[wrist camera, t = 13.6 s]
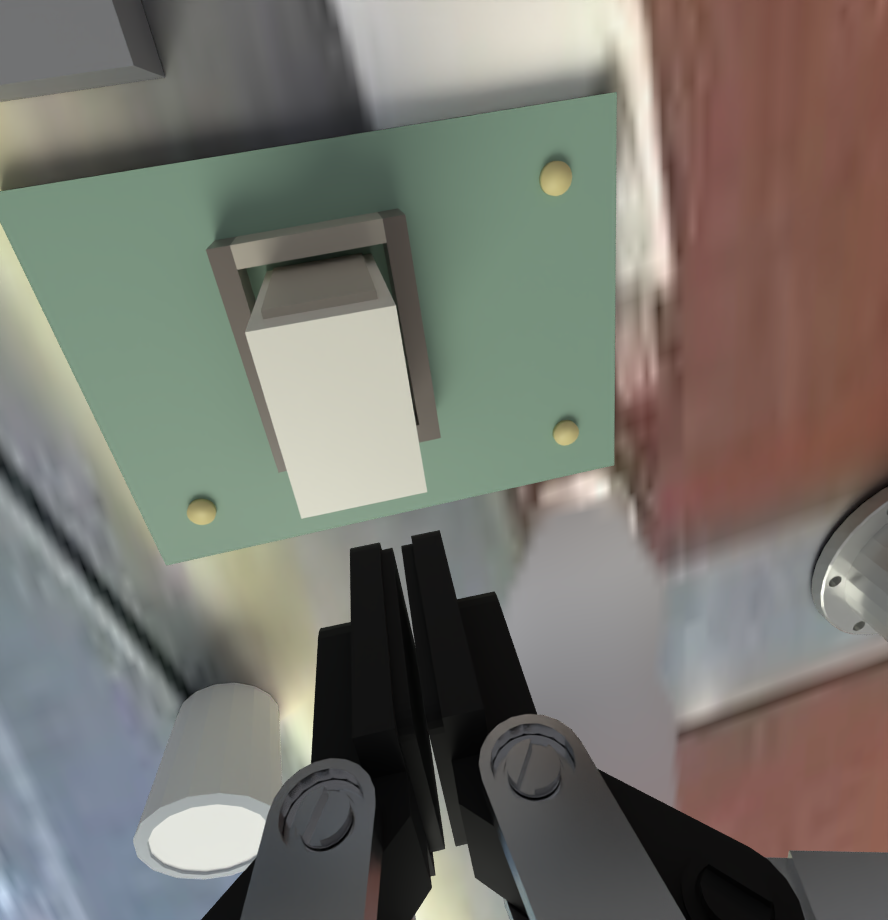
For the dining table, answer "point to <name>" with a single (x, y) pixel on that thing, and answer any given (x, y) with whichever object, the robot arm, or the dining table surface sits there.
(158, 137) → the dining table surface
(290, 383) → the plug
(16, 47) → the grey push button box
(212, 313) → the board
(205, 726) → the gray cup
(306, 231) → the socket
